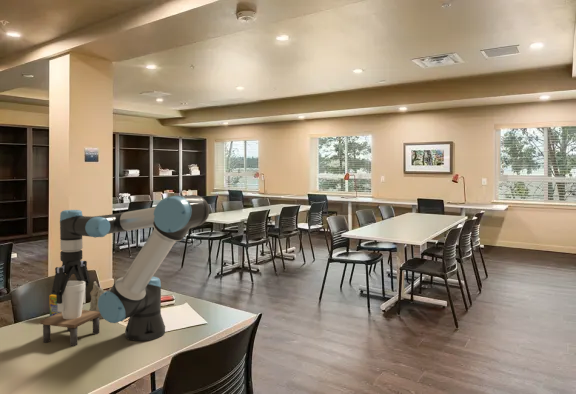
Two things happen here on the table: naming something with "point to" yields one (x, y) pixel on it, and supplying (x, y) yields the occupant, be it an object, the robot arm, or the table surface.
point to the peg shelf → (70, 324)
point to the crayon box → (53, 305)
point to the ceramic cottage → (96, 298)
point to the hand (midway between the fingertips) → (71, 307)
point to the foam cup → (73, 299)
